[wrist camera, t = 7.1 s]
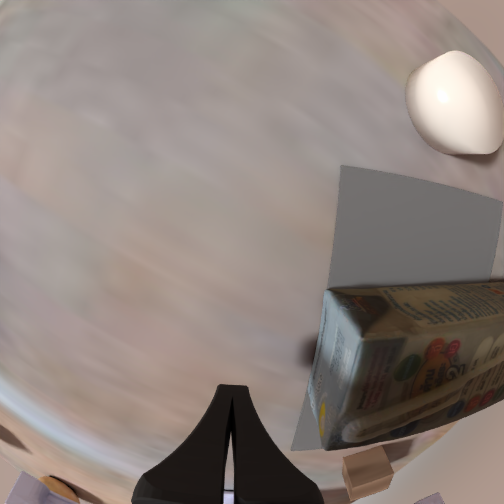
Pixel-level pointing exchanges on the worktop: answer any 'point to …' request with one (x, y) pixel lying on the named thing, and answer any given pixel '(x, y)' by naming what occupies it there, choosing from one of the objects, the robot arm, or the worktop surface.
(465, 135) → the cream egg shape
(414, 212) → the mat
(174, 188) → the worktop surface
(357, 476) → the walnut block
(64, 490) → the onion
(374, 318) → the beverage carton
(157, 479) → the robot arm
